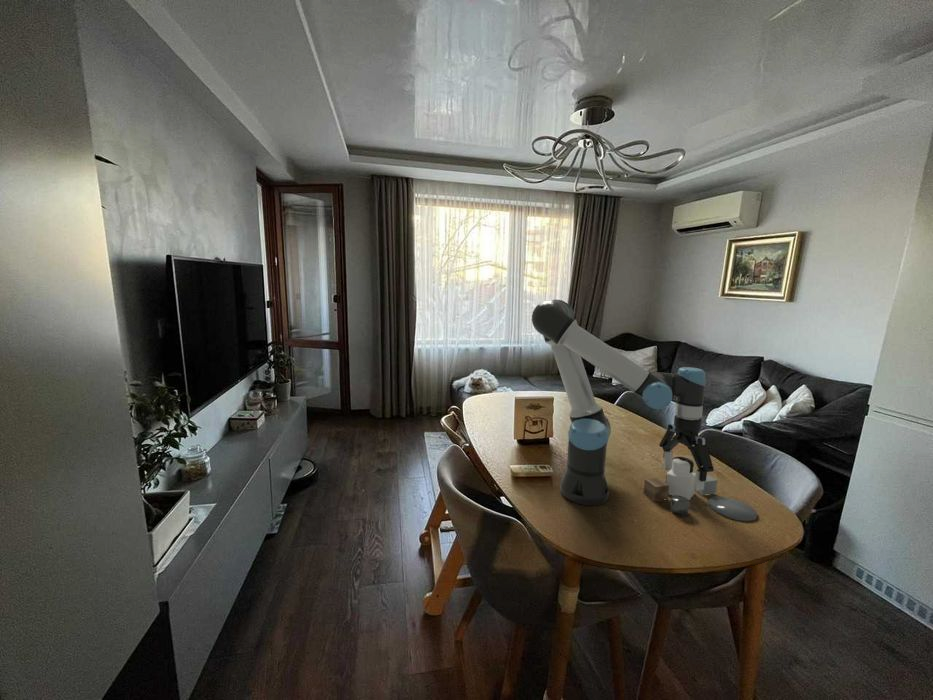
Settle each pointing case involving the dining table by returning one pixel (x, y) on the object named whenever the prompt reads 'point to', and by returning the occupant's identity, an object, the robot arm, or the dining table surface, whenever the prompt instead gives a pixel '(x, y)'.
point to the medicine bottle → (681, 478)
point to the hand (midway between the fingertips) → (682, 479)
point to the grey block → (709, 486)
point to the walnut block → (656, 489)
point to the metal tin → (679, 505)
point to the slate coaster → (732, 508)
